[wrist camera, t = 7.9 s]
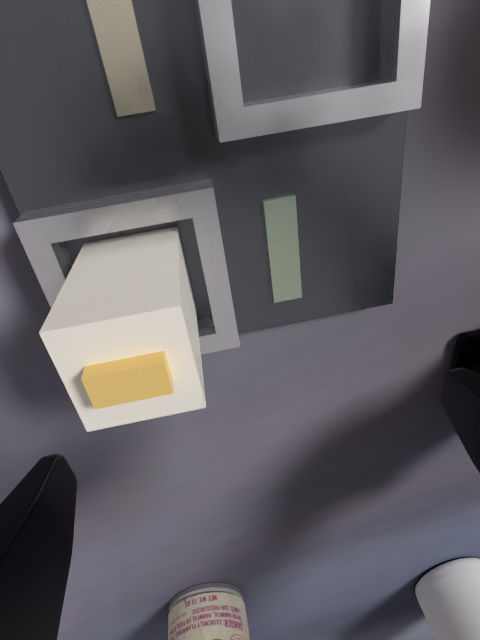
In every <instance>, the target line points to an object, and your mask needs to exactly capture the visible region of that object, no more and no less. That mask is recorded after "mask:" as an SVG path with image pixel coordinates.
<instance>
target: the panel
mask: <svg viewBox="0 0 480 640" xmlns="http://www.w3.org/2000/svg"><path fill="white" fill-rule="evenodd" d="M429 12H430V0H0V171H1V173H2V175H3V178H4V180H5V182H6V184H7V187H8V189H9V191H10V194H11V196H12V198H13V201H14V203H15V205H16V207H17V210H18V212H19V214H20V217H19V218H17V219H16V220H15V221H14V222H13V225H14V227H15V229H16V232H17V234H18V236H19V238H20V241H21V243H22V245H23V247H24V249H25V252H26V254H27V256H28V258H29V261H30V263H31V265H32V267H33V270H34V272H35V274H36V276H37V278H38V281H39V283H40V285H41V287H42V290H43V292H44V294H45V296H46V298H47V301H48V303H49V305H50V307H51V308H52V306H53V304H54V302H55V300H56V298H57V296H58V294H59V292H60V290H61V288H62V286H63V284H64V282H65V280H66V278H67V276H68V274H69V272H70V270H71V268H72V266H73V264H74V262H75V260H76V258H77V256H78V254H79V252H80V250H81V248H82V246H83V244H84V243H88V242H94V241H99V240H105V239H110V238H116V237H121V236H126V235H132V234H137V233H143V232H148V231H154V230H159V229H165V228H170V227H176V226H177V227H178V231H179V235H180V240H181V244H182V249H183V253H184V257H185V262H186V266H187V270H188V275H189V279H190V284H191V288H192V292H193V297H194V301H195V306H196V315H197V324H198V333H199V343H200V352H201V354H206V353H212V352H217V351H222V350H227V349H232V348H237V347H240V342H239V336H238V334H239V333H244V332H249V331H254V330H259V329H264V328H269V327H274V326H279V325H285V324H290V323H295V322H300V321H305V320H310V319H315V318H320V317H325V316H330V315H335V314H341V313H346V312H351V311H356V310H361V309H366V308H371V307H376V306H381V305H386V304H391V303H393V290H394V277H395V263H396V250H397V236H398V223H399V209H400V196H401V182H402V169H403V155H404V142H405V128H406V115H407V110H413V109H419V108H421V100H422V89H423V78H424V67H425V56H426V45H427V34H428V23H429Z"/></svg>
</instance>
